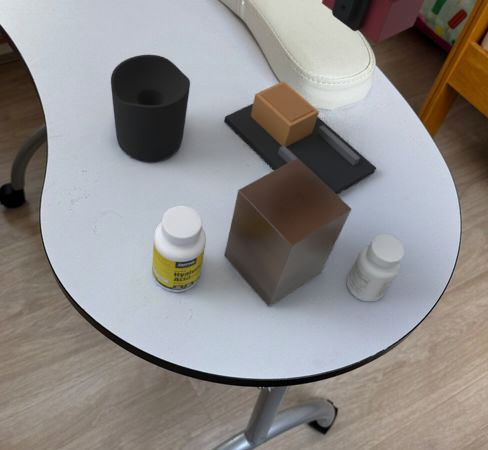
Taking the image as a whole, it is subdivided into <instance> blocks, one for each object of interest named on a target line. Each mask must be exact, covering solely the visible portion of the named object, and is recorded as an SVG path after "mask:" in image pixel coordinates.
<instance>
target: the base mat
mask: <svg viewBox="0 0 488 450" xmlns="http://www.w3.org/2000/svg"><path fill="white" fill-rule="evenodd" d="M252 108H253V103H251V104H248V105H246V106H243V107H242V108H240V109H238V110H236V111H234V112H231V113H230V114H227V115H225V116H224V124H226V125H227V126H228V127H229V128H230V129H231V130H232V131H233V132H234V133H235V134H236V135H237V136H238V137H239V138H240V139H241V140H242V141H243V142H244V143H245V144H246V145H247V146H248V147H249V148H250V149H251V150H252V151H254V153H255V154H256V155H258V157H259V158H260V159H261V160H263V161H264V162H265V163H266V164H267V165H268V166H269V167H270V169H272V171H274V170H276V169H278V168H280V167H282V166H284V165H286V164H287V163H289V162H291V161H293V160H295V159H297V158H298V159H299V160H300V161H301V162H302V163H304V164H305V165H306V166H307V167H308V168H309V169H310V170H311V171H312V172H313V173H314V174H315V175H316V176H317V177H318V178H319V179H320V180H322V181H323V182H324V183H325V184H326V185H327V186H328V187H329V188H330V189H331V190H332V191H333V192H334V193H335V194H336V195H337V196H338V195H340V194H341V193H343V192H345V191H346V190H348V189H349V188H351V187H353V186H354V185H356V184H358V183H359V182H361V181H363V180H364V179H366V178H368V177H370V176H371V175H373V174H374V173H376V169H377V167H376V166H375V165H373V163H372V162H370V161H369V160H368V159H367V158H366V157H365V156H363V154H361V153H360V152H359V151H358V150H357V149H355V148H354V147H353V146H352V145H351V144H350V143H348V141H346V140H345V139H344V138H343V137H342V136H341V135H339V134H338V132H336V131H335V130H334V129H333V128H332V127H330V125H328V124H327V123H326V122H324V120H323V119H321V118H320V117H319V115H318V116H317V119H316V122H315V125H314V128H313V131H312V134H310V135H308V136H306V137H304V138H302V139H300V140H298V141H297V142H295V143H293V144H291V145H289V146H287V147H285V146H282V145H281V144H279V143H278V142H277V141H276V140H275V139H274V138H273V137H272V136H271V135H270V134H269V133H268V132H267V131H266V130H265V129H264V128H263V127H262V126H260V125H259V124H258V123H257V122H256V121H255V120H254V119H253V118H252V117H251V113H252Z"/></svg>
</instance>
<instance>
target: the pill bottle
mask: <svg viewBox="0 0 488 450" xmlns="http://www.w3.org/2000/svg"><path fill="white" fill-rule="evenodd" d="M404 257H405V247H404V245H403V243H402V242H401V241H400V240H399V239H398V238H397V237H395V236H393V235H390V234H378V235H376V236H375V237H374V238H373V239H372V241H371V242H370V243H369V244H367V245H366V246H364V247H363V248H362V249H361V250H360V252H359V254H358V255H357V257H356V259H355V261H354V263H353V265H352V266H351V268H350V271H348V274H347V276H346V286H347V289H348V291H349V292H350V294H351V295H352V296H354V297H355V298H356V299H358V300H360V301H364V302H375V301H379V300H380V299H381V298H382V297H384V295H385V293H386V292H387V290H388V289H389V287H390V286H391V284H392V283H393V281H394V280H395V278H396V277H397V275H398V273H399V272H400V269H401V262H402V260H403V258H404Z"/></svg>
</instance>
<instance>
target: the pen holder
mask: <svg viewBox="0 0 488 450" xmlns="http://www.w3.org/2000/svg"><path fill="white" fill-rule="evenodd" d="M190 88H191V80H190V78H189V77H188V76H187V75H186V74H185V73H184V72H183V71H182V70H181V69H180V68H179V67H178V66H177V65H176V64H175V63H174V62H172V61H171V60H170V59H169V58H166V57H164V56H162V55H157V54H141V55H140V54H139V55H135V56H131V57H129V58H127V59H124V60H122V61H121V62H120V63H119V64H117V66H115V67H114V69H113V70H112V72H111V76H110V89H111V98H112V108H113V109H112V110H113V119H114V127H115V128H114V129H115V135H116V141H117V144H118V146H119V148H120V149H121V151H122V152H123V153H125V154H126V155H127V156H129V157H130V158H132V159H134V160H136V161H141V162H146V163H148V162H149V163H152V162H153V163H155V162H160V161H164V160H166V159H168V158H170V157H172V156H173V155H174V154H176V153H177V152H178V151H179V149H180V147H181V146H182V143H183V138H184V131H185V125H186V120H187V119H186V118H187V111H188V103H189V98H190V97H189V96H190V90H191V89H190Z"/></svg>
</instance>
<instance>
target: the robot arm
mask: <svg viewBox="0 0 488 450" xmlns="http://www.w3.org/2000/svg"><path fill="white" fill-rule="evenodd" d="M370 2H371V0H335V3H334V6H333V10H331V14H332V16H333V17H334V18H335V19H337V20H338V21H340V23H342V24H343V25H345V26H346V27H347V28H349V29H350V30H351V31H353V32H358V30H359V29H361V27H362V25H363V22H364V19H365V16H366V13H367V11H368V8H369V5H370Z"/></svg>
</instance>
